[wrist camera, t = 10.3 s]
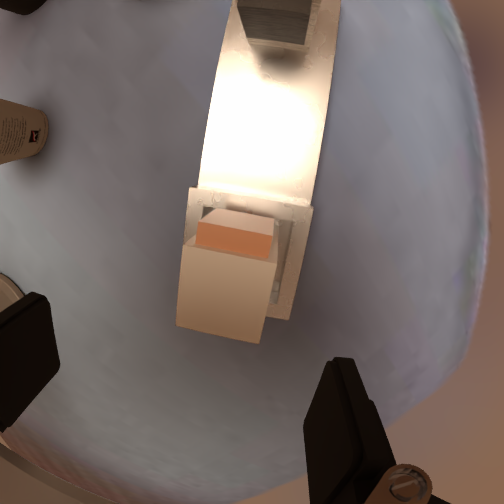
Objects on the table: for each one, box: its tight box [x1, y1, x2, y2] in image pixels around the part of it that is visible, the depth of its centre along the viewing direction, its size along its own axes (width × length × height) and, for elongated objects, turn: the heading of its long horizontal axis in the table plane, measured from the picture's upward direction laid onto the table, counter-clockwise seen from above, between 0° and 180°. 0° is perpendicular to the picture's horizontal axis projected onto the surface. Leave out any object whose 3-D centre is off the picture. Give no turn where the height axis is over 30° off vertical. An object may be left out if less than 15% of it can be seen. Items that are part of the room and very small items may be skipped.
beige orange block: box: [175, 208, 278, 344], centre depth 17 cm, size 5×4×8 cm
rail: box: [183, 0, 341, 320], centre depth 16 cm, size 24×8×10 cm, turn 171°
